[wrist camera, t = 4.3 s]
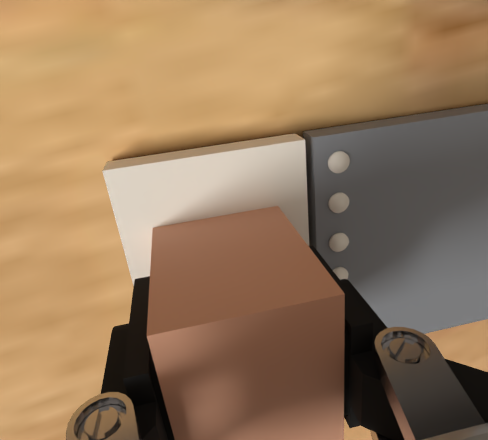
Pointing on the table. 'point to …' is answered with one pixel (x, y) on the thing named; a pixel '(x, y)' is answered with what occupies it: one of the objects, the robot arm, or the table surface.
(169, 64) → the table surface
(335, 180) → the pad
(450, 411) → the robot arm
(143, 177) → the stub
